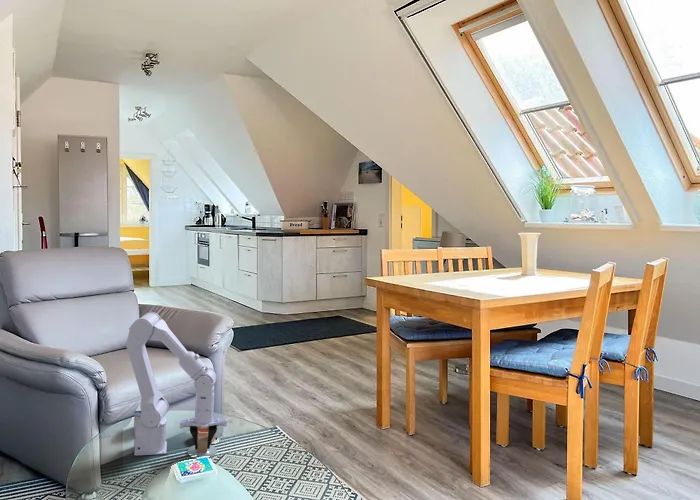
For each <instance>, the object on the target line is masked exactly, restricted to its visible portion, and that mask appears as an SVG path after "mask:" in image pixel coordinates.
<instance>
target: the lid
mask: <svg viewBox="0 0 700 500" xmlns="http://www.w3.org/2000/svg"><path fill="white" fill-rule="evenodd" d="M207 443H208V437H207V436H205V437H198V443H197V444H198V449H195V444H193V445H191V446H190V447H189V448H188V449H187V454H188V453H189V454H194V455H197V456H213V455H215V454H217V448H216V446H215V445H212V444H210V448H209V449H207ZM215 456H216V455H215ZM213 457H214V456H213Z"/></svg>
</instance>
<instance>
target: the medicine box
mask: <svg viewBox="0 0 700 500" xmlns="http://www.w3.org/2000/svg"><path fill="white" fill-rule="evenodd" d="M140 405H141V402H140V403H139V404H138V406H137V408H136V409H135V410H134V413H133V414H134V417H133V435H134V436H135V431H136V423H141V418H140V417H141V408H140Z"/></svg>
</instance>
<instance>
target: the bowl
mask: <svg viewBox="0 0 700 500" xmlns="http://www.w3.org/2000/svg"><path fill="white" fill-rule="evenodd" d="M205 436H207V437H208V426H207V428H201V427H198V437H205ZM215 440H216V434H215V435H214V437H213V439H212V441H211V443H213V442H214V441H215ZM197 444H198V438H197Z"/></svg>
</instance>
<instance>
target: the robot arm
mask: <svg viewBox="0 0 700 500" xmlns="http://www.w3.org/2000/svg"><path fill="white" fill-rule="evenodd" d="M128 330H129V332H128V336H127V340H126V342H125V346H126V350H127V353H128V356H129V360H130V362H131V366H132V367H131V368H132V370H133V373H134V377H135V381H136V383H137V387H138V390H139V393H140V397H141V399H140V403H141V405H140V408H141V417H140V418H141V423H136V431H135V435H134V441H133V447H134V456H149V455H150V456H152V455H153V456H154V455H165V454H167V449H168V448H167V445H168V441H167V418H166V414H167V413H168V412H169V408H170V405H169V403H168V401H167V400H166V399H165V397H164V395H163V393H162V391H159V389H158V385H157V382H156V378H155V374H154V371H153V367H152V365H151V361H150V358H149V357H150V356H149V355H148V350H147V348H146V347H147V346H146V343H147V342H148V340H150V341H156V342H157V341H158V342H161V343H162V344H164V346H165V347H166V348H168V350H170V351H171V352H172V354H174V355H175V356H176V357H177V358H178V365H179V366H180V368H181V369H182V370H183V371H184V372H185V373H186V374H187V375H188V377H190V379H191V380H193V381H194V382H193V386H194V388H195V392H196V393H195V399H194V400H195V402H194V403H195V404H194V417H192V418H187V419H186V418H185V419H180V420H179V429H184V428H189V433H190V435H191V437H192V439H193V442H194V443H193V444H194V445H195V449H198V443H197V438H198V427H201V428H207V426H208V443H207V449H209V448H210V445H212V444H211V443H212V442H211V441H212V439H213V437H214V435H215V436H216V433H217V431H218V427H224V428H225V427H227V426H228V425H227V424H228V419H227V418H226V417H225V418H223V417H214V407H215V383H216V381H217V378H218V377H217V376H218V375H217V372H215V370H214V368H211V367H209V365H206V364H205V363H204V362H203V361H202V360H201V358H200V355H199V354H198V353H195V352H194V351H188V350H187V349H186V348H185V346H184V345H183V343H181V341H180V339H178V337H177V336H176V335H175V334H174V333H173V331H172V330H171V329H170V328H169V325H168V324H167V323H166V321H165V320H164V319H163V318H161V316H160V315H159V314H158V313H156V312H154V311H148V312H146V313H144V314H142V316H141V317H140V318H137V319H136V320H135V321H134V322H133V323H132V324H131V325H130V326H129V328H128Z"/></svg>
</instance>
